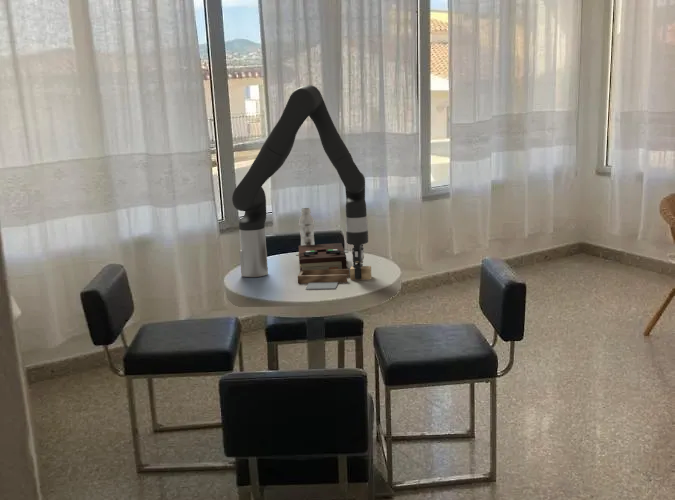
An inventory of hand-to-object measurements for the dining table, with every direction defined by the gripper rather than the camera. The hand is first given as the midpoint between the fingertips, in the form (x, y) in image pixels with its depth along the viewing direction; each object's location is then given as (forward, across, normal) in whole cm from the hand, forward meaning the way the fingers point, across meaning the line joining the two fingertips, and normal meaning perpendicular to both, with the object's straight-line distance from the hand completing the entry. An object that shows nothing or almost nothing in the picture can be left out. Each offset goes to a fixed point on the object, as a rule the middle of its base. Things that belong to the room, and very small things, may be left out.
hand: (359, 276), depth 247 cm
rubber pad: (+1, -10, +12) cm, 15 cm away
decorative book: (+1, +19, +15) cm, 25 cm away
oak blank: (+1, +1, -1) cm, 1 cm away
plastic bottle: (+1, +36, +23) cm, 42 cm away
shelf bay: (+1, 0, +12) cm, 12 cm away
